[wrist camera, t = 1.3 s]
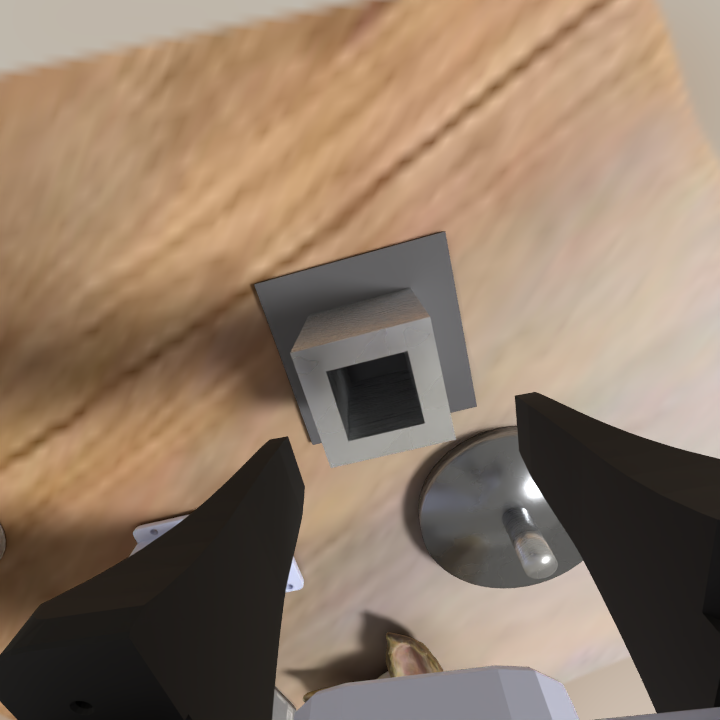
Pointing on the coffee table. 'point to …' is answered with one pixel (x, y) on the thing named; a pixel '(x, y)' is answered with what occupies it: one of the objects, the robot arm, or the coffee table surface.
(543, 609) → the coffee table surface
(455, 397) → the mat
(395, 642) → the ceramic sculpture
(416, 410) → the grey hollow cube
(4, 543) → the thermos bottle
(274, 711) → the label tape cartridge
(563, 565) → the hub
